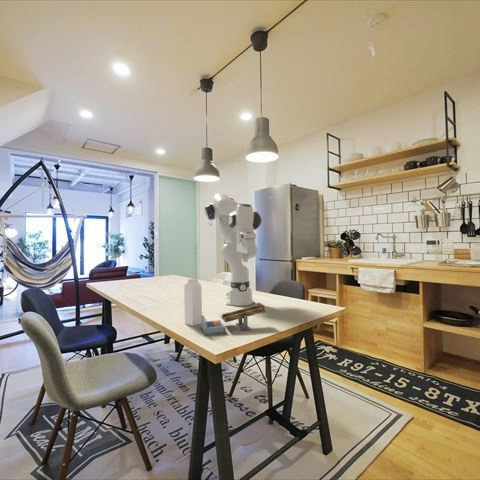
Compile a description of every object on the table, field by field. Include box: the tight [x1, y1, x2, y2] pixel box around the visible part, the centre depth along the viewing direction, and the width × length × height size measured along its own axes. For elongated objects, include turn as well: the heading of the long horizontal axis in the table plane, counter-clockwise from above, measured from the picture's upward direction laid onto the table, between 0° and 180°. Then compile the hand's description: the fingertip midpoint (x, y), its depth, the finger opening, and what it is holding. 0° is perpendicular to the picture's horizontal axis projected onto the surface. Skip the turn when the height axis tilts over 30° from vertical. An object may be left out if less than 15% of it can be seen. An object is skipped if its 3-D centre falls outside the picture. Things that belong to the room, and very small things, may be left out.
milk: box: [183, 277, 203, 327], centre depth 134 cm, size 6×6×22 cm
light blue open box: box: [200, 314, 226, 337], centre depth 122 cm, size 10×9×6 cm
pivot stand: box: [235, 315, 252, 332], centre depth 126 cm, size 4×10×7 cm, turn 17°
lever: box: [219, 302, 266, 323], centre depth 129 cm, size 19×12×4 cm, turn 107°
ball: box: [213, 320, 220, 327], centre depth 123 cm, size 4×4×4 cm
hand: (245, 261), depth 141 cm, fingers closed
